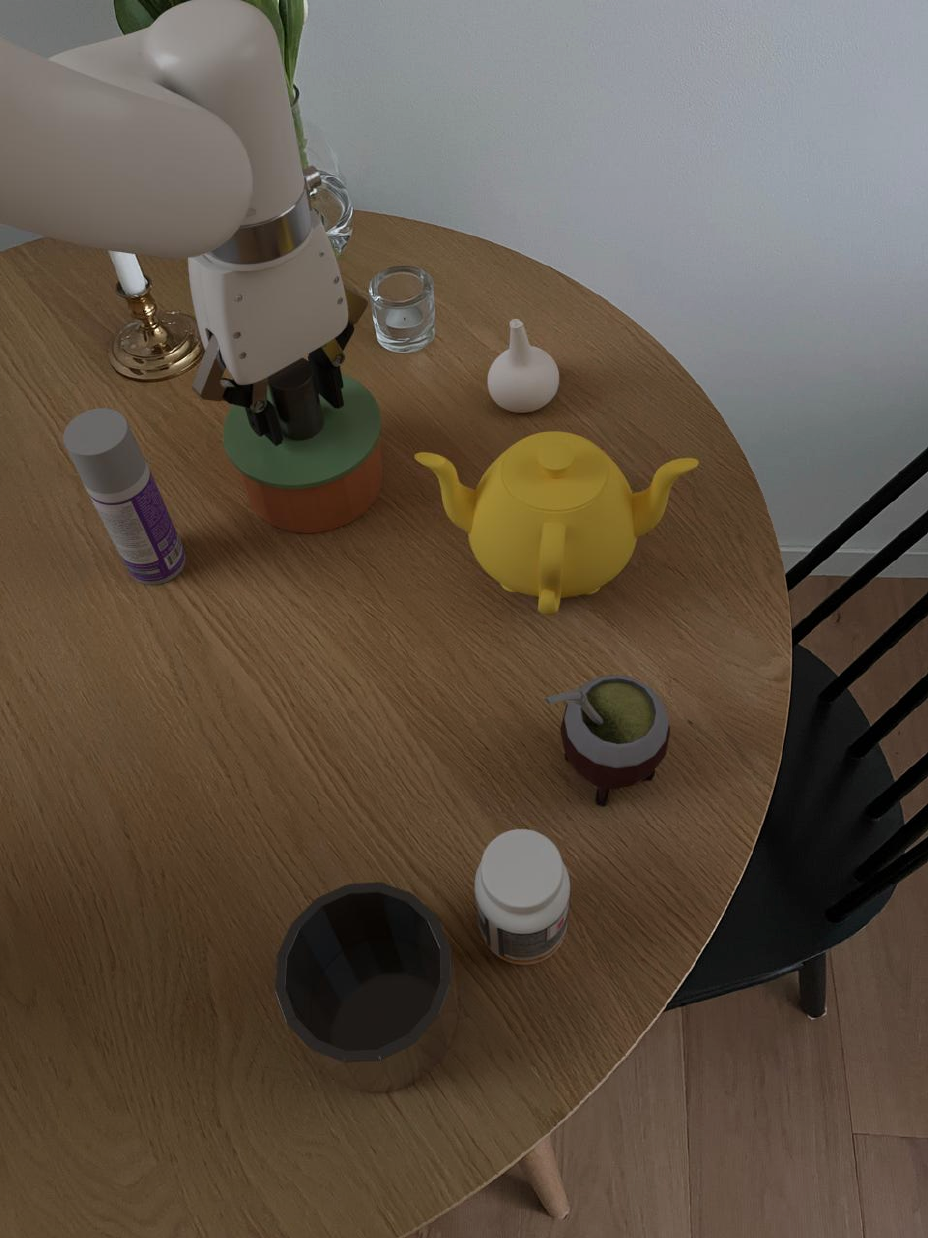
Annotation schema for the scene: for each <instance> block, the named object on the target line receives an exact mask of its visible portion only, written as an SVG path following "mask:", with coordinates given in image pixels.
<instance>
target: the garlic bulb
mask: <svg viewBox="0 0 928 1238" xmlns="http://www.w3.org/2000/svg"><path fill="white" fill-rule="evenodd" d="M509 329H510V333H509V334H510V335H509V347H508V349H506V350H504V351H503V352H502V353H500V354H499V355H498V356H497V357H496V358H495V359H494V361H493V362H492V364H491V365H490V368H489V370H488V373H487V389H488V392H489V396H490V397H491V399H492V400H493V401H494V403H495V404H496V405H497V406H498V407H500V408H502V409H504V410H506V411H509V412H512V413H517V414H525V413H531V412H535V411H538V410H540V409H542V408H543V407H545V406H546V405H547V404H549V403H550V402H551V401H552V399H554V397H555V396H556V394H557V392H558V389H559V385H560V372H559V368H558V365H557V363H556V362H555V360H554V358H553V357H552V356H551V355H550V354H549V353H548V352H547V351H545V350H543V348H540V347H536V346H533V345H531V344H530V341H529V338H528V335H527V331H526V328H525V327H524V322H523V321H521V320H520V319H519V318H513V319H511V320H510V321H509Z"/></svg>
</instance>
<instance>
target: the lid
mask: <svg viewBox="0 0 928 1238" xmlns="http://www.w3.org/2000/svg"><path fill="white" fill-rule="evenodd" d="M341 374H342V380H343V385H344V387H343V388H342V389H341V391H342V396H343V401H344V406H343V407H341V408H339V409H337V408H336V409H335V408H334V407H333V406H331V405H330V404H329V403H328V402H327V401H326V400H325V399H324V398H323V397H322V396H321V395H319V393H318V389H317V384H316V379H315V375H314V370H313V366H312V365H311V363H310V362H309V361H308V359H306V358H305V357H302V358H300V359H299V360H297V361H295V362H293V363H292V364H290V365H288V366H286V367H285V368H283V369H281V370H279V371H277V372H276V373H274V374H272V375H270V376H268V388H267V400H268V401H269V402H271V403H272V404H273V406H274V407H275V409H276V413H277V417H278V421H279V424H280V428H281V432H282V436H283V441H282V443H281V444H279V445H278V446H275V445H274V444H273V443H272V442H271V441H270V440H269V439H268V438H267V437H266V436H265V435H263V436H261V437H259V436H258V435H257V434H256V433H255V432H254V431H253V429H252V428H251V426H250V423H249V420H248V417H247V413H246V410H245V407H242V406H237V405H233V404H232V405H231V406H230V408H229V411H228V412H227V414H226V417H225V419H224V422H223V427H222V441H223V447H224V449H225V452H226V455H227V457H228V459H229V460H230V463H231V464H232V465H233V466H234V467H235V468H236V469H237V471H238V470H239V471H240V472H241V473H242V474H243V475H245V476H246V477H248V478H250V479H251V480H253V481H255V482H258V483H260V484H263V485H266V486H269V487H274V488H280V489H307V488H313V487H318V486H322V485H325V484H328V483H331V482H334V481H336V480H338V479H341V478H342V477H344V476H346V475H348V474H350V473H351V472H352V471H354V470H355V469H357V468H358V467H359V466H360V465H361V464H362V463H364V462H365V461H366V459H367V458H368V457H369V456H370V455H371V453H372V452H373V450H374V449H375V447H376V445H377V443H378V440H380V437H381V433H382V427H383V426H382V423H383V421H382V414H381V409H380V406H379V404H378V401H377V399H376V398H375V396H374V395H373V393H372V392H371V391H370V390H369V389H368V388H367V387H366V386H365V385H364V384H362V383H361V382H360V381H358V380H357V379H355V378H354V377H352V376H350V375H347V374H344V373H342V372H341ZM239 471H238V472H239Z"/></svg>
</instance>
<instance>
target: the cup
mask: <svg viewBox="0 0 928 1238" xmlns="http://www.w3.org/2000/svg"><path fill="white" fill-rule="evenodd" d="M275 961H276V965H275V977H274V979H275V980H274V993H275V996H276V999H277V1002H278V1004H279V1007H280V1010H281V1013H282V1016H283V1019H284V1021H285V1024H286V1026H287V1027H288V1028H289V1030H290V1031H291V1032H292V1033H293V1035H294V1036H295V1037H296V1038H297V1040H298V1041H299V1043H300V1044H301V1045H302V1047H304V1049H305V1050H306V1052H307V1053H308V1054H309V1056H310V1057H311V1058H312V1059H313V1060H314V1061H315V1062H316V1063H317V1064H318V1065H319V1067H320V1068H321V1069H322V1070H323V1071H324V1072H325V1073H326V1074H327V1075H328V1076H329V1077H330V1078H331V1079H332V1080H334V1081H336V1082H338V1083H339V1084H341V1085H343V1086H345V1087H347V1088H350V1089H352V1090H356V1091H359V1092H365V1093H370V1094H371V1093H374V1094H375V1093H376V1094H381V1093H390V1092H391V1093H392V1092H394V1091H398V1090H402V1089H404V1088H407V1087H409V1086H411V1085H413V1084H415V1083H417V1082H419V1081H421V1080H422V1079H423V1078H424V1077H426V1076H427V1075H428V1074H430V1072H432V1071H433V1070H434V1069H435V1067H436V1066H438V1065H439V1063H440V1061H441V1060H442V1059H443V1058H444V1057H445V1055H446V1053H447V1052H448V1049H449V1048H450V1046H451V1045H452V1041H453V1039H454V1037H455V1034H456V1031H457V1030H456V1029H457V1026H458V1022H459V1018H460V1014H459V1009H460V1008H459V1006H460V1005H459V988H458V981H457V976H456V975H457V974H456V970H455V964H454V959H453V953H452V948H451V944H450V942H449V940H448V937H447V935H446V933H445V930H444V928H443V926H442V924H441V922H440V920H439V918H438V916H437V915H436V914H435V913H434V911H432V910H431V909H430V907H428V906H427V905H426V904H425V903H424V902H423V901H421V899H419V897H417V896H416V895H415V894H414V893H412V892H411V891H408V890H404V889H402V888H399V887H396V886H393V885H390V884H387V883H384V882H380V881H379V882H360V883H359V882H358V883H348V884H345V885H342V886H340V887H338V888H336V889H334V890H331V891H329V892H327V893H325V894H322V895H320V896H318V897H317V898H315V899H314V900H313V901H312V902H311V903H310V904H309V905H308V906H306V908H305V909H304V910H303V911H302V912H301V913H300V914H299V915H298V916H297V917H296V918H295V919H294V920H293V921H292V923H291V924H290V926H289V928H288V930H287V932H286V934H285V936H284V939H283V940H282V943H281V945H280V947H279V950H278V952H277V954H276V960H275Z"/></svg>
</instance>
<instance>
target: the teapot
mask: <svg viewBox="0 0 928 1238" xmlns="http://www.w3.org/2000/svg"><path fill="white" fill-rule="evenodd" d="M414 459H415V460H416V461H417V462H418V463H419V464H421V465H423V466H425V468H427V469H429V470H431V471H432V472H433V473H434V474H435V475H436V477H437V479H438V483H439V485H440V493H441V501H442V506H443V508H444V510H445V511H444V512H445V513H446V515H447V517H448V518H449V519H450V521H451V522H452V523H453V524H454V525H455V526H456V527H457V528H459V529H461V530H462V531H464V532H466V533H467V537H468V542H469V546H470V549H471V551H472V553H473V555H474V558H475V559H476V560H477V562H478V563H479V564H480V566H481V568H482V569H483V571H485V572H486V573H487V574H488V575H489V576H490V577H491V578H492V579H494V580H495V581H496V582H498V583H499V584H500V586H501V587H502V588H503V590H505V591H507V592H510V593H520V594H523V595H526V596H529V597H530V596H531V597H536V598H538V603H537V611H538V612H539V613H540V614H542V615H544V616H553V615H556V614H557V613H558V611H559V608H560V604H561V599H566V598H572V597H577V596H580V595H592V594H595V593H597V592H598V591H600V589H601V587H603V586H605V585H606V584H608V583H609V582H610V581H612V580H614V578H616V577H617V576H618V575H619V574H620V573H621V572H622V570H623V569H624V568H625V567H626V566H627V564H628V563H629V561H630V559H632V556H633V554H634V552H635V549H636V545H637V541H638V538H639V537H641V536H643V535H646V534H647V533H649V532H650V531H652V530H653V529H654V528H655V527H656V526H657V525H658V524H659V523H660V522H661V520H662V518H663V516H664V514H665V511H666V508H667V504H668V501H669V496H670V493H671V489H672V486H673V485H674V483H675V481H676V480H677V479H678V478H680V476H683V475H685V474H686V473H688V472H690V471H692V470H694V469H696V468H697V467H698V466H699V463H700V462H699V460H698V459H697V458H693V457H681V458H676V459H672V460H670V461H667V462H666V463H664V464H662V465H661V466H660V467H659V468H658V469H657V470H656V472H655V474H654V475H653V477H652V480H651V484H650V486H649V487H647V488H645V489H643V490H641V491H638V492H634V493H633V490H632V488H631V487H630V484H629V482H628V480H627V478H626V477H625V475H624V473H623V471H622V470H621V469H620V467H618V465H617V464H616V463H615V462H614V461H613V459H612V458H611V457H610V456H609V455H608V454H607V453H606V452H605V451H604V450H602V449H601V448H600V447H599V446H598V445H596V444H595V443H594V442H592V441H591V440H589V439H587V438H585V437H584V436H581V435H578V434H575V433H571V432H566V431H556V430H555V431H554V430H553V431H552V430H551V431H542V432H538V433H537V432H536V433H533V434H531V435H528V436H525V437H524V438H521V439H520V440H519V441H517V442H515V443H514V444H512V445H511V446H509V447H508V448H507V449H506V450H505V451H503V453H501V454H500V455H499V456H498V457H497V458H496V459H495V460H494V461H493V462H492V463H491V464H490V466H489V467H488V468H487V469H486V471H485V472H484V473H483V475H482V477H481V478H480V480H479V482H478V484H477V486H476V487H475V489H474V488H471V487H468V486H466V485H465V484H462V483H461V482H460V480H459V476H458V472H457V471H458V470H457V469H456V467H455V465H454V464H453V463H452V462H451V461H450V460H449V459H448V458H446V457H444V456H442V455H441V454H437V453H433V452H425V451H423V452H422V451H421V452H417V453H415V454H414Z"/></svg>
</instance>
